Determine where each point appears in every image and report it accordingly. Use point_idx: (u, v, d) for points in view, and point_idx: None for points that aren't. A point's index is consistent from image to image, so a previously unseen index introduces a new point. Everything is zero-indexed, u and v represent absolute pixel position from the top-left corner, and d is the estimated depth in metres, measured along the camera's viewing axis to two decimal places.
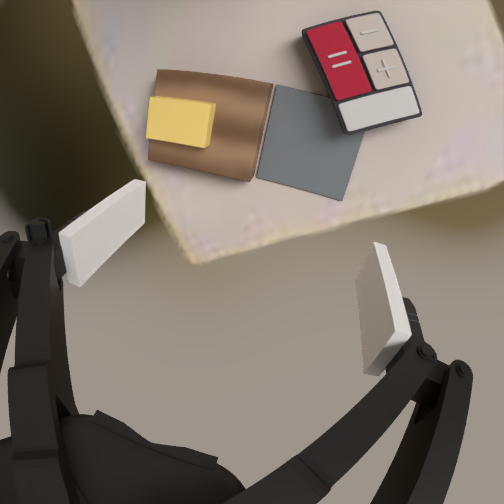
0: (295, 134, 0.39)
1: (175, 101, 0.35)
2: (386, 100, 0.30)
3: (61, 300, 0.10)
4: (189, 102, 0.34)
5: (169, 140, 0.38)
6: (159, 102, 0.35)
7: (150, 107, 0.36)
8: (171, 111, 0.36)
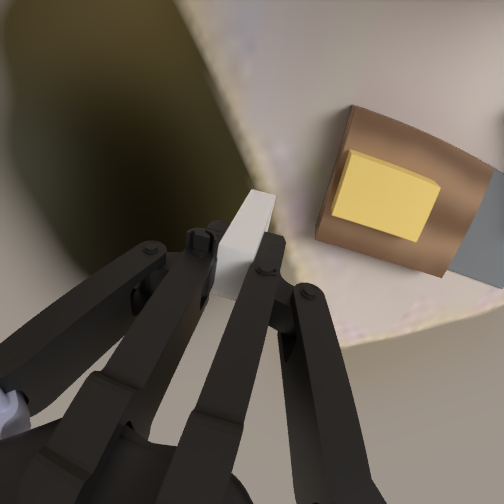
0: (488, 223, 0.27)
1: (393, 171, 0.23)
2: None
3: (196, 320, 0.11)
4: (413, 177, 0.23)
5: (370, 225, 0.26)
6: (367, 166, 0.23)
7: (349, 170, 0.24)
8: (383, 184, 0.24)
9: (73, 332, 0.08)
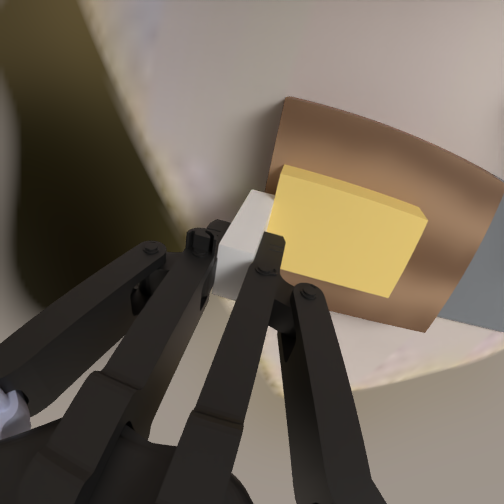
0: (493, 256, 0.20)
1: (349, 197, 0.16)
2: None
3: (196, 320, 0.11)
4: (383, 206, 0.15)
5: (317, 276, 0.19)
6: (306, 191, 0.16)
7: (279, 199, 0.16)
8: (335, 218, 0.16)
9: (73, 332, 0.08)
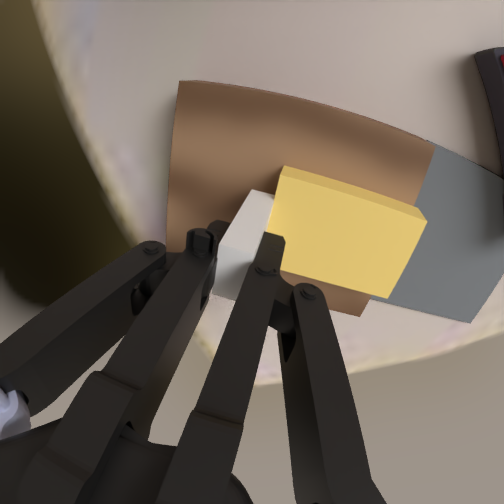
0: (440, 234, 0.20)
1: (349, 198, 0.16)
2: None
3: (196, 320, 0.11)
4: (382, 207, 0.15)
5: (316, 277, 0.19)
6: (305, 192, 0.16)
7: (278, 200, 0.17)
8: (334, 219, 0.16)
9: (73, 332, 0.08)
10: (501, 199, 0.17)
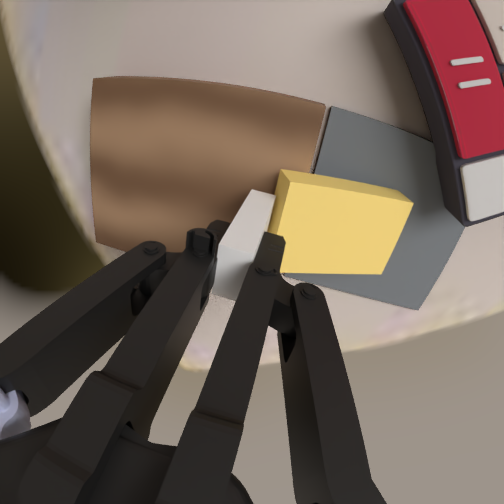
0: None
1: (352, 195, 0.16)
2: None
3: (196, 320, 0.11)
4: (379, 198, 0.17)
5: (322, 271, 0.19)
6: (314, 196, 0.16)
7: (288, 207, 0.16)
8: (339, 216, 0.17)
9: (73, 332, 0.08)
10: (435, 166, 0.18)
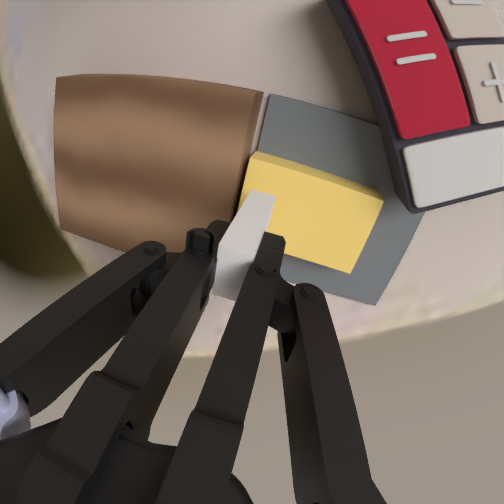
0: None
1: (310, 179, 0.18)
2: (492, 148, 0.12)
3: (196, 320, 0.11)
4: (341, 187, 0.18)
5: None
6: (272, 173, 0.18)
7: (248, 179, 0.19)
8: (297, 197, 0.19)
9: (73, 332, 0.08)
10: (384, 152, 0.18)
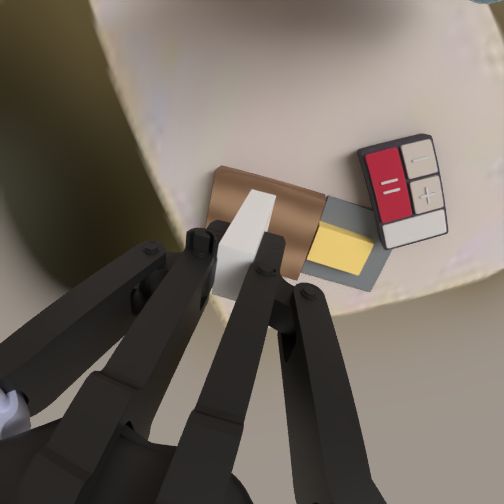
0: None
1: (343, 235, 0.43)
2: (422, 222, 0.38)
3: (196, 320, 0.11)
4: (356, 239, 0.43)
5: (329, 265, 0.46)
6: (328, 233, 0.43)
7: (318, 235, 0.44)
8: (338, 243, 0.44)
9: (73, 332, 0.08)
10: (375, 222, 0.43)
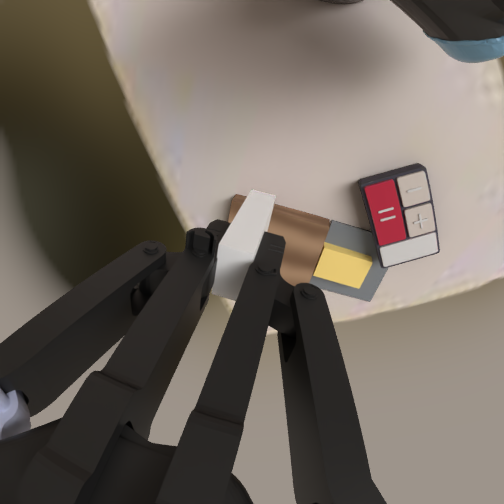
0: None
1: (345, 255, 0.49)
2: (415, 244, 0.43)
3: (196, 320, 0.11)
4: (356, 258, 0.49)
5: (333, 280, 0.52)
6: (331, 253, 0.49)
7: (322, 255, 0.50)
8: (340, 261, 0.50)
9: (73, 332, 0.08)
10: None
